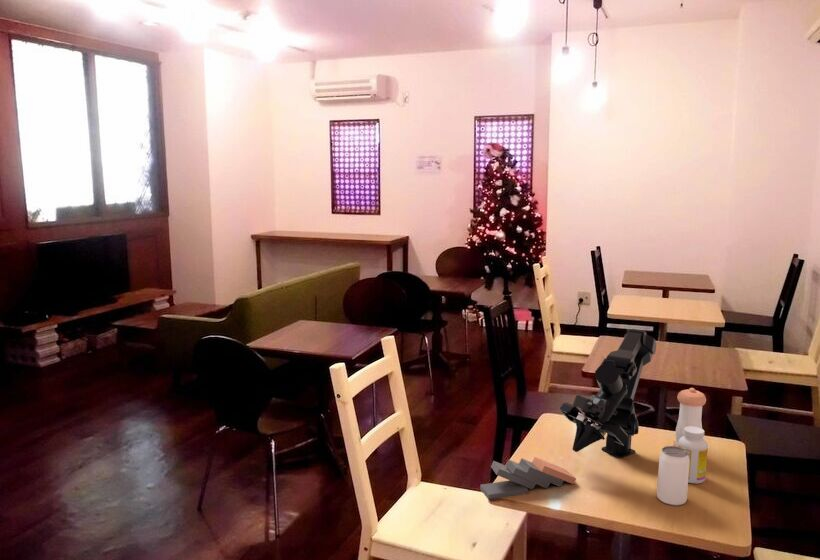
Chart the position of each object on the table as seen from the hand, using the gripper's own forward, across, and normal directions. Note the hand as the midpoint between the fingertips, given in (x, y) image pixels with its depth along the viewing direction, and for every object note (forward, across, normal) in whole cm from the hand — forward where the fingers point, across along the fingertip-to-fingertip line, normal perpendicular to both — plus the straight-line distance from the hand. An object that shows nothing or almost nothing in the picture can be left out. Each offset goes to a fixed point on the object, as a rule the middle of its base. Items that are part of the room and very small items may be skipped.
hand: (574, 450), depth 161 cm
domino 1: (+13, -2, -4) cm, 14 cm away
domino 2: (+15, -2, -6) cm, 16 cm away
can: (-3, +20, +13) cm, 24 cm away
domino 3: (+10, -1, -2) cm, 11 cm away
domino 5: (+6, 0, +3) cm, 7 cm away
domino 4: (+8, 0, +1) cm, 8 cm away
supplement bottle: (-12, +16, +23) cm, 30 cm away
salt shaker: (-19, +8, +30) cm, 36 cm away
